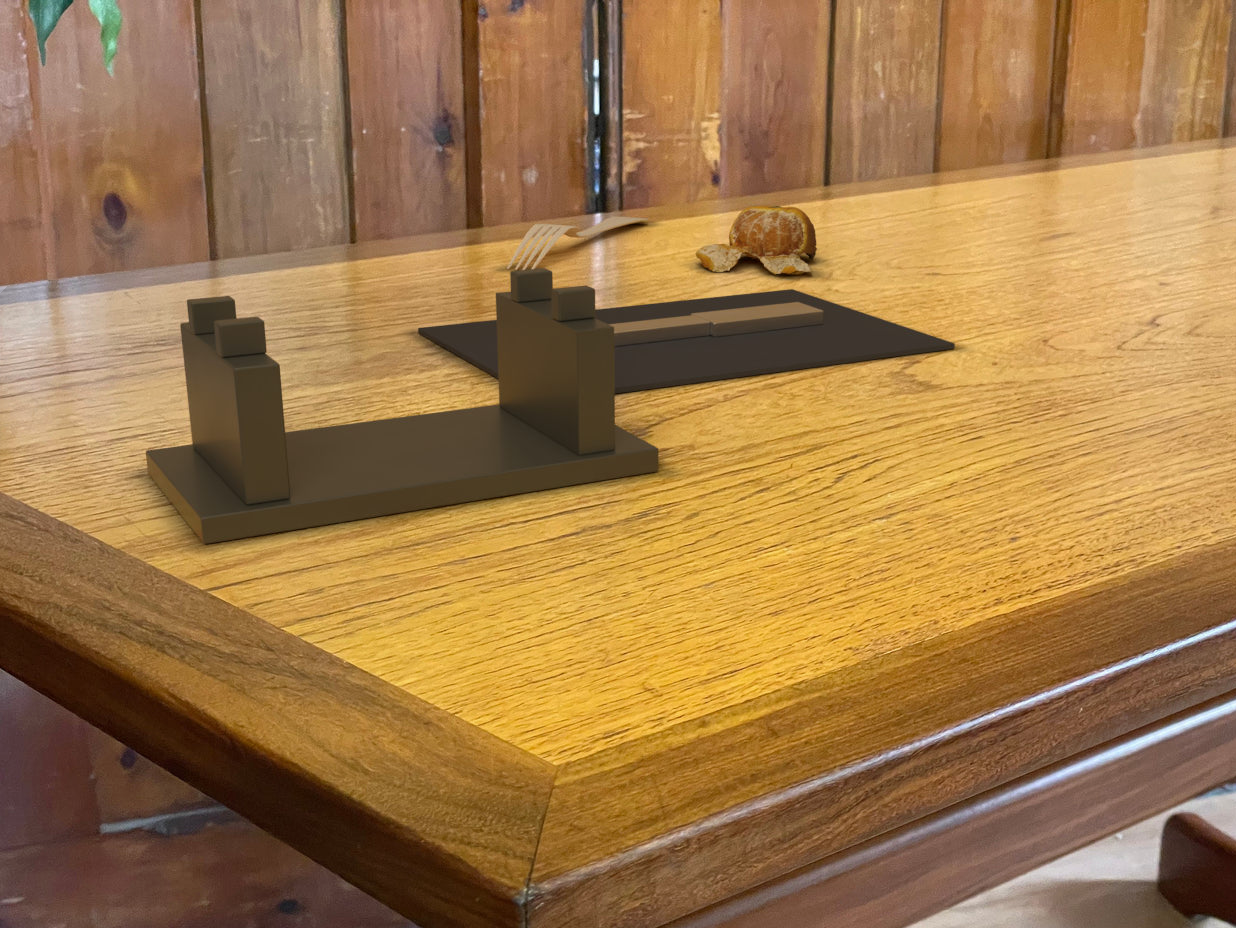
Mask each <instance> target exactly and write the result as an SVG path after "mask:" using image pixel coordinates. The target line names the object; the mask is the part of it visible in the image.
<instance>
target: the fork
mask: <svg viewBox="0 0 1236 928" xmlns="http://www.w3.org/2000/svg"><path fill="white" fill-rule="evenodd" d="M649 221H650V219H649V218H646V217H645V218H644V217H632V216H616V215H612V216H610V217H607V218H606V219H604V220H602V221H600V222H599V223H597V224H595V225H593V226H591V227H589V228H587V229H585V230H583V231H582V228H581V227H579V226H576V225H564V224H550V223H535V224H534V225H532V226H531V227H530V229H529V230H528V231H527V232H526V234H525V235H524V237H523V238H522V240H521V241H520V243H519V245H518V247H517V248H516V250H515V252H514V254H513V256H512V258H511V260H510V262H509V263H508V266H507V267H506V269H507V270H510V269H511V267H512V265H513V264H514V262H515V261H516V259H517V258H518V257H519V255H520V254H521V252H522V251H523V249H524V248H525V247H526V246H527V245H528V243H529V242H530V243H529V245H528V246H527V247H526V249H525V251H524V252H523V254H522V256H521V257H520V260H519V261H518V263H517V265H516V266H515V269H514V270H515V271H517V270H518V269H519V268H520V266H521V265H522V264H523V262H524V261H525V259H526V258H527V256H528V255H529V253H530V252H531V251H532V250H533V251H532V253H531V254H530V256H529V258H528V259H527V260H526V263H525V264H524V266H523V267H522V270H527V268H528V266H529V265H530V263H531V262H532V261H533V259H534V258H535V256H536V255H537V254H538V253H539V251H540V250H541V249H542V248H543V249H542V250H541V252H540V253H539V256H537V259H536V260H535V262H534V263H533V264H532V267H531V268H530V269H536V267H537V266H538V265H539V264H540V262H541V261H542V260H543V258H544V257H545V256H546V255H547V253H548V252H549V251H550V250H551V249H552V247H553V246H554V245H555V244H556V243H557V242H558V240H559V239H560V238H561V237H563V235H565V236H566V237H569V238H579V239H581V238H583V239H584V238H587V237H592V236H594V235H598V234H600V233H603V232H606V231H609V230H612V229H616V228H620V227H624V226H627V225H632V224H638V223H641V224H643V223H649ZM531 239H532V240H531ZM530 240H531V241H530ZM539 240H540V241H539ZM547 241H548V242H547ZM536 244H537V245H536ZM545 244H546V245H545ZM544 245H545V246H544ZM543 246H544V247H543ZM534 247H535V248H534Z"/></svg>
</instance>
